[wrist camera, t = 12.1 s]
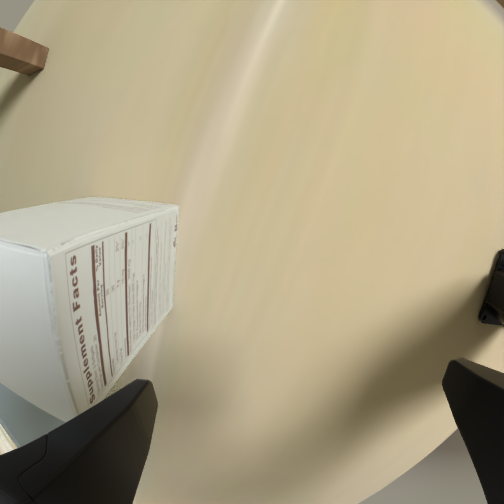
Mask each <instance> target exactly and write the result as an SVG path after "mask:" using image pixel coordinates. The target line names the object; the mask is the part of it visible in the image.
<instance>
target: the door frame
mask: <svg viewBox="0 0 504 504" xmlns="http://www.w3.org/2000/svg"><path fill="white" fill-rule="evenodd" d="M48 51H49V48H47V47H45V46H43V45H40V44H38V43H36V42H34V41H31V40H29V39H27V38H24V37H22V36H20V35H17V34H15V33H12V32H10V31H7V30H5V29H2V28H0V67H2V68H6V69H9V70H13V71H16V72H20V73H23V74H26V75H30V74H32V73H34V72H37V71H39V70H41V69H44V66H45V62H46V58H47V54H48Z"/></svg>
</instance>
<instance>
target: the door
mask: <svg viewBox="0 0 504 504" xmlns="http://www.w3.org/2000/svg"><path fill="white" fill-rule="evenodd" d="M64 423H66V422H64V421H62V420H60V419H58V418H56V417H54V416H53V415H51V414H49V413H47V412H45V411H44V410H42V409H40V408H38V407H37V406H35V405H33V404H32V403H30V402H28V401H27V400H25V399H24V398H22V397H21V396H19V395H17V394H16V393H14V392H13V391H11V390H10V389H8V388H7V387H6V386H4V385H3V384H1V383H0V424H1V425H2V427H3V428H4V429H5V431H6V432H7V434H8V435H9V436H10V438H11V439H12V440H13V442H14V443H15V444H16V446H17V447H18V448H19V447H21V446H24V445H26V444H28V443H30V442H31V441H33V440H35V439H37V438H39V437H41V436H43V435H44V434H48V432H50V431H52V430H53V429H55V428H57V427H59V426H60V425H62V424H64Z"/></svg>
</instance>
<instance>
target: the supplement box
mask: <svg viewBox="0 0 504 504" xmlns="http://www.w3.org/2000/svg"><path fill="white" fill-rule="evenodd" d="M178 220H179V206H178V205H172V204H165V203H158V202H149V201H139V200H129V199H117V198H104V197H89V198H82V199H75V200H69V201H63V202H56V203H50V204H44V205H39V206H33V207H28V208H23V209H17V210H12V211H7V212H3V213H0V383H1V384H3V385H4V386H6V387H7V388H8V389H10V390H11V391H13V392H14V393H16V394H17V395H19V396H21V397H22V398H24V399H25V400H27V401H28V402H30V403H32V404H33V405H35V406H37V407H38V408H40V409H42V410H44V411H45V412H47V413H49V414H51V415H53V416H54V417H56V418H58V419H60V420H62V421H64V422H67V421H69V420H71V419H72V418H74V417H76V416H78V415H79V414H81V413H83V412H84V411H86V410H88V409H89V408H91V407H93V406H94V405H96V404H97V403H99V402H101V401H102V400H104V398H105V397H106V395H107V394H108V393H109V391H110V390H111V388H112V387H113V386H114V384H115V383H116V382H117V380H118V379H119V378H120V376H121V375H122V374H123V372H124V371H125V369H126V368H127V367H128V365H129V364H130V363H131V361H132V360H133V359H134V357H135V356H136V355H137V353H138V352H139V351H140V349H141V348H142V347H143V345H144V344H145V343H146V342H147V340H148V339H149V337H150V336H151V335H152V334H153V332H154V331H155V330H156V328H157V327H158V326H159V325H160V323H161V322H162V321H163V319H164V318H165V317H166V316H167V314H168V313H169V312H170V310H171V309H172V308H173V305H174V304H173V298H174V279H175V260H176V245H177V232H178Z"/></svg>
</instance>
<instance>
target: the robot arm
mask: <svg viewBox="0 0 504 504" xmlns="http://www.w3.org/2000/svg"><path fill="white" fill-rule="evenodd" d="M483 316H484V317H483ZM478 319H479V321H480V322H482V323H488V324H495V325H503V326H504V249H502V250H501V251H500V254H499V258H498V261H497V265H496V268H495V271H494V275H493V278H492V281H491V284H490V287H489V290H488V292H487V295H486V298H485V301H484V303H483V306H482V309H481V311H480V314H479V317H478ZM442 387H443V390H444V392H445V395H446V397H447V400H448V403H449V406H450V408H451V411H452V414H453V417H454V420H455V422H456V425H457V427H458V429H459V431H460V434H461V436H462V438H463V440H464V442H465V445H466V447H467V450H468V452H469V454H470V457H471V459H472V462H473V464H474V467H475V469H476V472H477V474H478V477H479V480H480V483H481V485H482V488H483V491H484V494H485V497H486V500H487V503H488V504H504V373H501V372H499V371H496V370H493V369H491V368H488V367H485V366H483V365H480V364H477V363H475V362H472V361H469V360H467V359H464V358H456V359H452V360H451V361H450V362H449V364H448V366H447V369H446V372H445V375H444V377H443V380H442ZM157 408H158V402H157V398H156V395H155V391H154V388H153V384H152V382H151V381H149V380H144V379H136V380H134V381H133V382H131V383H130V384H128V385H126V386H125V387H123V388H122V389H120V390H119V391H117V392H115V393H114V394H112V395H111V396H109V397H107V398H106V399H104V400H102V401H101V402H99V403H97V404H96V405H94V406H93V407H91V408H89V409H88V410H86V411H84V412H83V413H81V414H79V415H78V416H76V417H74V418H72V419H71V420H69V421H67V422H66V423H64V424H62V425H60V426H59V427H57V428H55V429H53V430H52V431H50V432H48V434H44V435H43V436H41V437H39V438H37V439H35V440H33V441H31V442H30V443H28V444H26V445H24V446H21V447H19V448H17V449H15V450H12V451H10V452H7V453H5V454H2V455H0V504H132V503H133V500H134V497H135V494H136V490H137V487H138V484H139V481H140V478H141V474H142V471H143V468H144V465H145V462H146V459H147V456H148V452H149V449H150V444H151V439H152V433H153V428H154V423H155V418H156V413H157Z"/></svg>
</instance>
